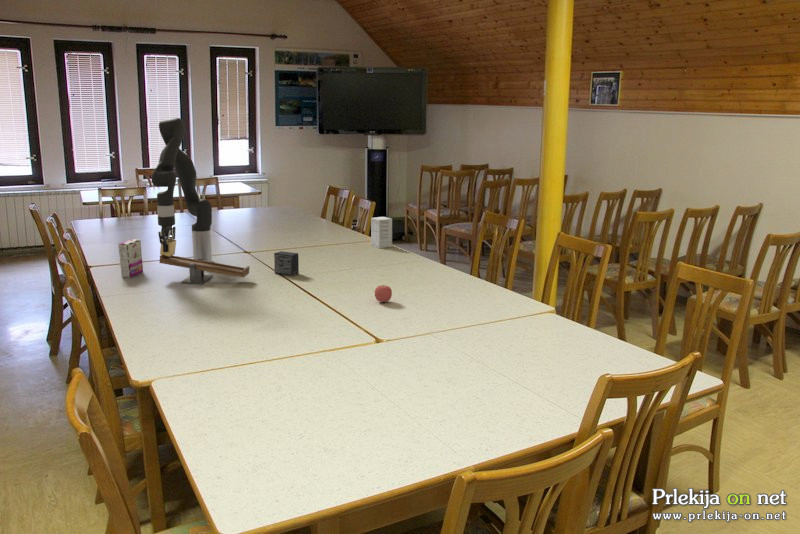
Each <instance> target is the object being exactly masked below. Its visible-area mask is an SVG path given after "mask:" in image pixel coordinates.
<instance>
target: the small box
mask: <svg viewBox="0 0 800 534" xmlns="http://www.w3.org/2000/svg"><path fill="white" fill-rule="evenodd" d="M273 255H274V257H273V258H274V274H275V275H282V276H289V277H294V276H295V275H296V276H297V275H298V274H300V272H299V252H298V253H297V252H290V251H281V250H280V251H277V252H274V253H273Z"/></svg>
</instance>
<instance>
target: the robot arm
mask: <svg viewBox="0 0 800 534" xmlns="http://www.w3.org/2000/svg"><path fill="white" fill-rule="evenodd" d="M158 128H159V132H160V136H161V138H162V140H163V142H164V144H165V146H164V147H163V149H162V150H161V152H160V154H159V160H158V163H157V166H156V167H155V168H154V171H153V172H152V174H151V183H152V185H153V186H155V187H156V188H157V187H158V188H159V187H160V188H167V190H164V191H160V192H158V193H156V203H157V209H156V210H157V211H156V212H157V225H158V226H161V229H160V230H161V231H158V232H157V233H158V240H159V243H160V245H161V244H163V252H168V240H169V239H174V240H176V226H175V225H176V214H175V212H176V211H175V205H174V203H175V202H174V191H175V188H176V187H175V186H176V183H177V180H178V181H179V184H180V187H181V190H182V194H183V196H184V201H185V205H186V209H187V212H188V213H189V215H191V216H193V217H196V222H195V223H193V224H191V235H192V236H191V239H192V255H193V256H192V259H196V260H198V259H203V261H207V262H213V254H212V251H213V250H212V235H211V232H212V231H211V227H212V223H213V218H212V217H213V211H212V210H213V207H212V204H211V201H209V200H208V199H205V198H200V196H199V195H198V192H197V190H196V182H197V171H196V167H195V165H194V161H193V160H192V159H191V157H190V156H189V155H188V154H186V153H185V152H184V151H182V149H180V147H181V145H182V142H183V139H184V137H185V134H186V125H185V122H184V121H183V119H182V118H180V117H174V118H167V119H162V120H159V123H158ZM174 171H175V172H174Z"/></svg>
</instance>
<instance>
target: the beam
mask: <svg viewBox="0 0 800 534" xmlns="http://www.w3.org/2000/svg"><path fill="white" fill-rule="evenodd" d="M159 264H164V265H168V266H169V265H170V266H174V267H179V268H186V269H189V264H195V269H197V270H203V271H204V272H208V273H214V274H215V273H216V274H221V275H226V276H233V277H238V278H242V279H243V278H245V277H247V276H248V275H249V273H250V266H249V265H247V266H246V267H242V266H234V265H230V264H229V265H228V264H224V263H217V262H213V261H212V262H207V261H202V260H196V259H193V258H189V257H185V256H179V255H173V256H171V257H169V256H165V255H160V254H159Z"/></svg>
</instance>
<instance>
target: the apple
mask: <svg viewBox="0 0 800 534" xmlns="http://www.w3.org/2000/svg"><path fill="white" fill-rule="evenodd" d="M392 295H393V291H392V288H391V287H390V286H388V285H386V284H384V283H383V284H381V285H378V286H376V288H375V290H374V296H375V299H376V300H377V302H379V301H380V302H379V303H381V302H385V303H387V302H386V301H388V302H389V301H390V300H391V299H392Z"/></svg>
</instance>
